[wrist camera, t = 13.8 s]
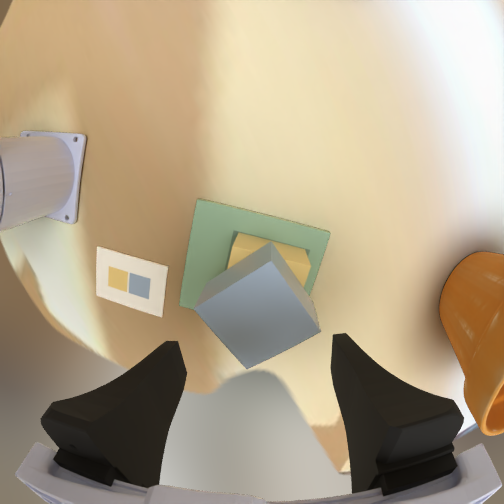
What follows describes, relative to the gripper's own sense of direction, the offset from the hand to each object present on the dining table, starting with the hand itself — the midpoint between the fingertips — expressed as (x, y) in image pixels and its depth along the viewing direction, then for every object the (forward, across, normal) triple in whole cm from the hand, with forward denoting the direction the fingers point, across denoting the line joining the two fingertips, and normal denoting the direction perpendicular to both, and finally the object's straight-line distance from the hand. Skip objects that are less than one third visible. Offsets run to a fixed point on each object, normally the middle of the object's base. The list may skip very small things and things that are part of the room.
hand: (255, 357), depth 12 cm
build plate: (+10, +1, 0) cm, 10 cm away
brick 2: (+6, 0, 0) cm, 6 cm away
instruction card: (+10, +12, 0) cm, 16 cm away
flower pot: (+11, -21, +4) cm, 24 cm away
